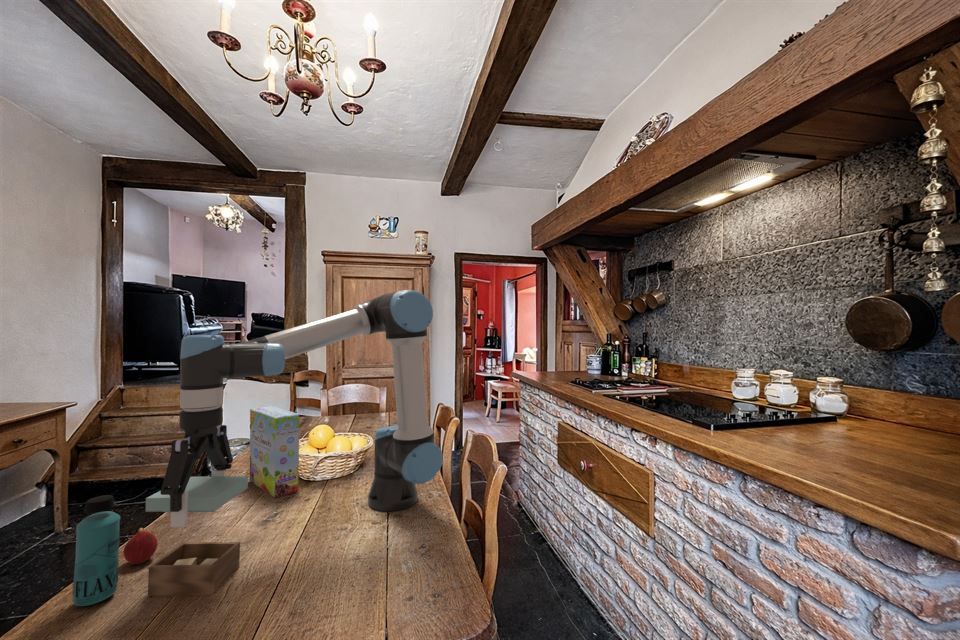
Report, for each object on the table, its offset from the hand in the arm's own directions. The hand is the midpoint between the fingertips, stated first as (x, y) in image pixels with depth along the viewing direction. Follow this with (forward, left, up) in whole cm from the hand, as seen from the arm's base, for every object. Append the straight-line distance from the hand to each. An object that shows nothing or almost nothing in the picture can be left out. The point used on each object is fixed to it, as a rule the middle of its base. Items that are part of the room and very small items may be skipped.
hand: (200, 512), depth 84 cm
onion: (+17, -7, -15) cm, 24 cm away
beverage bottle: (+15, +6, -15) cm, 22 cm away
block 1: (+3, 0, -14) cm, 14 cm away
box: (0, 0, -14) cm, 14 cm away
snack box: (+10, -53, -15) cm, 56 cm away
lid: (0, 0, +3) cm, 3 cm away
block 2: (-2, 0, -14) cm, 14 cm away
